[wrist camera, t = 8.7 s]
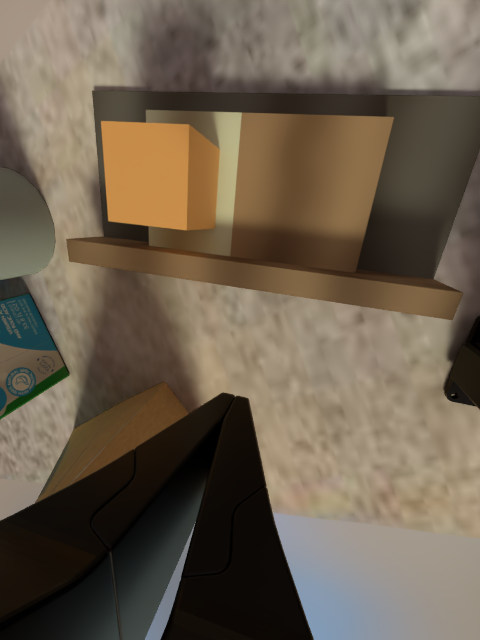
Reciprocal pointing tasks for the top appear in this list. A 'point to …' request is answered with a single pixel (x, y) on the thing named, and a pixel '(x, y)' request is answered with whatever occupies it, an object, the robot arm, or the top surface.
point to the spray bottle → (23, 227)
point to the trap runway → (308, 195)
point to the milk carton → (25, 354)
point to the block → (160, 175)
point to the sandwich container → (114, 435)
